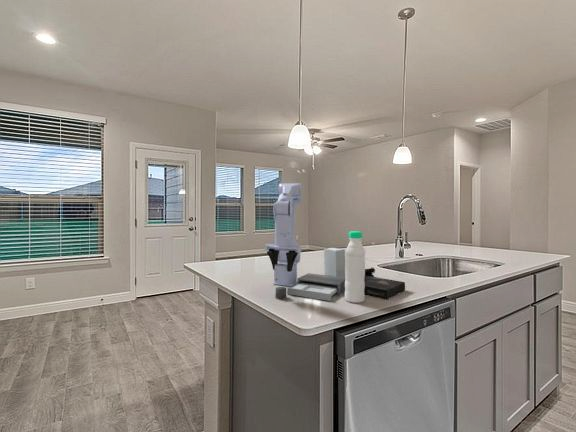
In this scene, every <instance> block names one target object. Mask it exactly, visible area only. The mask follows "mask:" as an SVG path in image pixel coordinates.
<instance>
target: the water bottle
mask: <svg viewBox="0 0 576 432" xmlns="http://www.w3.org/2000/svg"><path fill="white" fill-rule="evenodd" d="M362 238H363V232H361V231H359V230H358V231H355V230H353V231H349V232H348V239H349V243H348V244H347V246H346V249H345V279H346V280H345V292H344V300H345V301H347V303H353V304H359V303H363V302H364V301H365V297H366V295H365V294H364V288H365V283H364V278H365V269H366V250H365V248H364V246H363V244H362Z"/></svg>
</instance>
